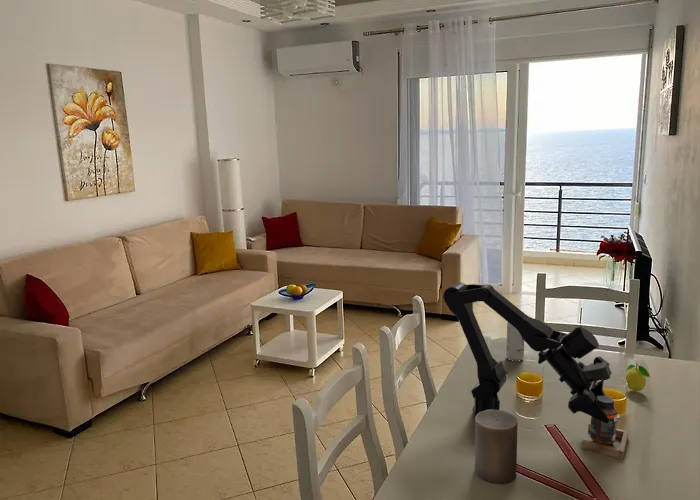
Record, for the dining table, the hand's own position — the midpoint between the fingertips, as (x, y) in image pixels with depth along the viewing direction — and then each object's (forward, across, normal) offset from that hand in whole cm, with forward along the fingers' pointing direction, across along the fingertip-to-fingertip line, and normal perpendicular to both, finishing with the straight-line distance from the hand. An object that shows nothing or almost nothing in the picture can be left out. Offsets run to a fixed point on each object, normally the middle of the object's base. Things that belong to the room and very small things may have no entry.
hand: (609, 416), depth 137 cm
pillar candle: (-9, -26, +21) cm, 34 cm away
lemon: (+8, +35, +3) cm, 36 cm away
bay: (+5, 0, +6) cm, 8 cm away
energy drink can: (-20, +44, +31) cm, 57 cm away
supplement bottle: (+4, 0, +6) cm, 7 cm away
